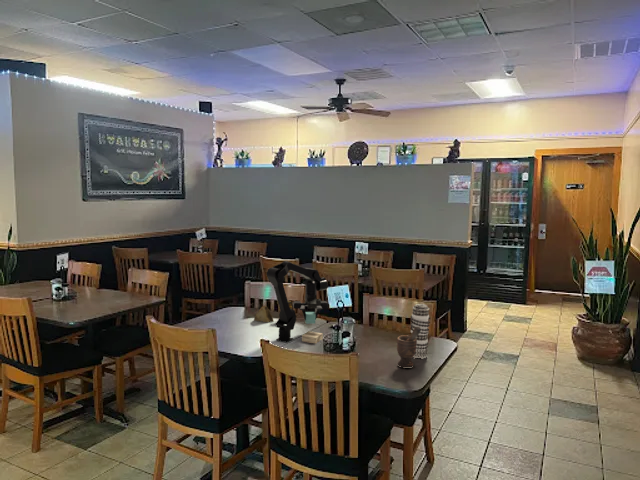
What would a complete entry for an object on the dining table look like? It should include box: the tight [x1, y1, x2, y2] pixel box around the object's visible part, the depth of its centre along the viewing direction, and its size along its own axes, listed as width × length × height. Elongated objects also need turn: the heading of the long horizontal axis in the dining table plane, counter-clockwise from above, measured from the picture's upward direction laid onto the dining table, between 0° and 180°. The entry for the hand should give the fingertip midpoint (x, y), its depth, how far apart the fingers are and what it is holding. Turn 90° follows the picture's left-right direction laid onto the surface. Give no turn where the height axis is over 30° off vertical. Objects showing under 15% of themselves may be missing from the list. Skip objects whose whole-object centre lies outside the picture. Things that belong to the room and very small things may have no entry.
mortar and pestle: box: [396, 327, 421, 367], centre depth 214 cm, size 12×9×20 cm
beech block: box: [301, 330, 324, 344], centre depth 249 cm, size 8×8×4 cm
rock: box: [253, 305, 274, 323], centre depth 282 cm, size 11×9×10 cm
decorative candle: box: [409, 303, 431, 357], centre depth 229 cm, size 9×9×25 cm
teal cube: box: [304, 311, 317, 325], centre depth 259 cm, size 5×5×5 cm
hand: (310, 320), depth 259 cm, fingers closed on teal cube, 5 cm apart
